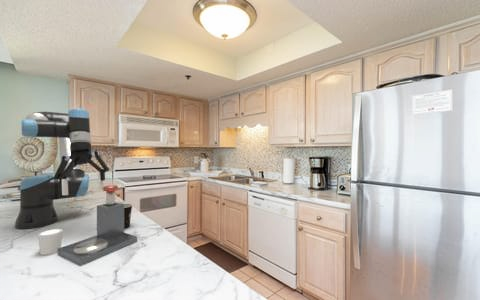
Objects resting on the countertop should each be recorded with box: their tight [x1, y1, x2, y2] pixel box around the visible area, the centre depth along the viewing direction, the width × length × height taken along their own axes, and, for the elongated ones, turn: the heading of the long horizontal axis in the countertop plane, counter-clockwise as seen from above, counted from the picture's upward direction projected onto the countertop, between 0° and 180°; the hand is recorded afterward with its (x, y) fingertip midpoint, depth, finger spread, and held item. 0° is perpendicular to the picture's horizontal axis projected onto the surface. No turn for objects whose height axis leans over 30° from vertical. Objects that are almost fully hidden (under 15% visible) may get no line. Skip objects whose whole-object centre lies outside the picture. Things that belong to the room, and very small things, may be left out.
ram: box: [102, 184, 119, 206], centre depth 88 cm, size 5×5×12 cm
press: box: [57, 201, 138, 266], centre depth 81 cm, size 15×20×14 cm
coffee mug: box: [123, 203, 133, 230], centre depth 102 cm, size 12×9×10 cm
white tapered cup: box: [37, 228, 64, 256], centre depth 78 cm, size 7×7×7 cm
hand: (83, 191), depth 91 cm, fingers open, 13 cm apart
